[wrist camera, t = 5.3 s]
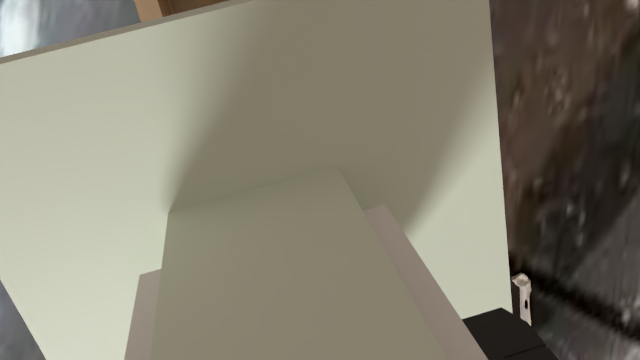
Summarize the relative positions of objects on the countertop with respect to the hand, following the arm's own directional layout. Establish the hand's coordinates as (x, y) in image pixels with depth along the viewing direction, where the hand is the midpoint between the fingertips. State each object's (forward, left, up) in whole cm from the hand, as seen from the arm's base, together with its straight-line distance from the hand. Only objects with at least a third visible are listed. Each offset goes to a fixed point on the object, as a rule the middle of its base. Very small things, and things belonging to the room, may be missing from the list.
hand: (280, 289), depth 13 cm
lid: (0, 0, -4) cm, 4 cm away
